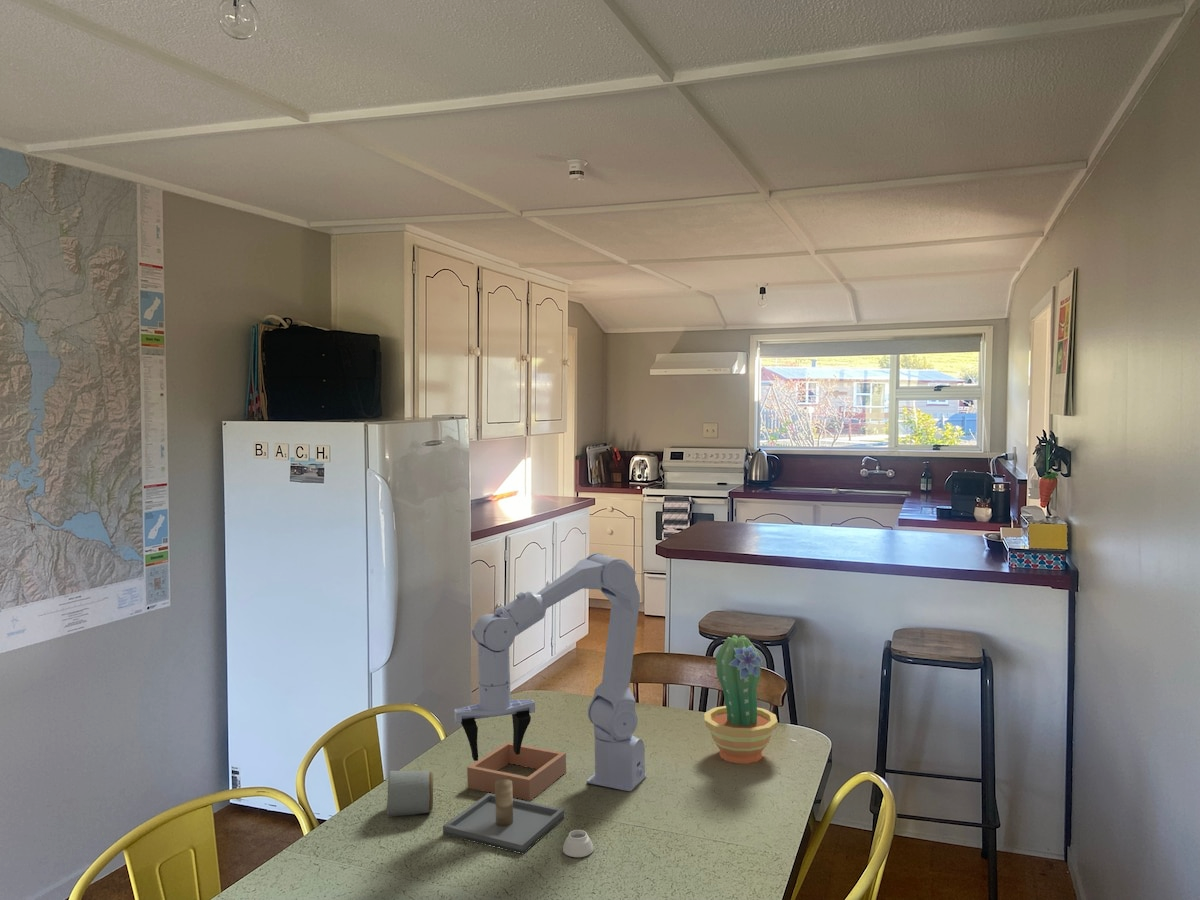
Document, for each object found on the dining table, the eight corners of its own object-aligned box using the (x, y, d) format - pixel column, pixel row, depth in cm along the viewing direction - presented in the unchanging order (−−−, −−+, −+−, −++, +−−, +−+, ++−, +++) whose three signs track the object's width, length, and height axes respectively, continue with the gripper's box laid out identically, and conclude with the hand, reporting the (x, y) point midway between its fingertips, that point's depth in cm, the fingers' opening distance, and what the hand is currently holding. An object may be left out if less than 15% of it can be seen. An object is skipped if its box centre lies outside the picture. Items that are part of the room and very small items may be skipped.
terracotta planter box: (566, 772, 170) (565, 752, 170) (529, 801, 157) (529, 780, 157) (507, 761, 176) (506, 742, 176) (467, 787, 164) (467, 767, 163)
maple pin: (516, 820, 149) (515, 781, 148) (507, 827, 146) (506, 787, 146) (502, 816, 150) (501, 778, 150) (492, 824, 147) (491, 784, 147)
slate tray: (564, 817, 151) (564, 809, 151) (522, 854, 138) (522, 845, 138) (489, 800, 158) (489, 792, 158) (443, 834, 145) (442, 825, 145)
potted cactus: (695, 764, 173) (694, 642, 172) (713, 737, 187) (711, 625, 186) (771, 774, 167) (770, 649, 167) (783, 745, 182) (782, 630, 181)
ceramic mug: (434, 819, 151) (433, 776, 151) (387, 824, 149) (386, 781, 149) (433, 794, 161) (432, 754, 161) (389, 799, 160) (388, 758, 159)
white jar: (599, 850, 139) (576, 841, 143) (599, 832, 139) (576, 823, 142) (579, 862, 136) (556, 853, 139) (579, 844, 135) (556, 835, 139)
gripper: (527, 670, 160) (529, 742, 160) (450, 680, 155) (452, 753, 155) (537, 681, 153) (539, 755, 154) (457, 691, 148) (459, 768, 149)
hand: (496, 755), depth 154 cm, fingers open, 7 cm apart
